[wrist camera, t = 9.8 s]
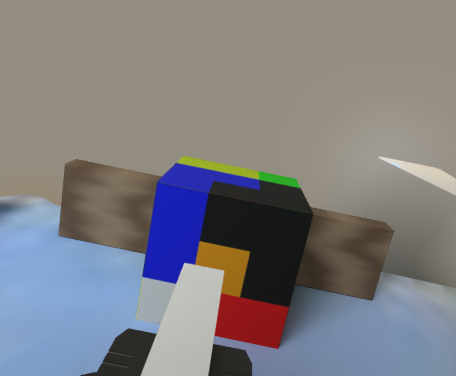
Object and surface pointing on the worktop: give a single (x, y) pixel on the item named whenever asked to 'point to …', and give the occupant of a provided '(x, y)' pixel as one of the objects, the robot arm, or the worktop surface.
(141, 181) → the walnut board
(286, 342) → the worktop surface
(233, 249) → the puzzle toy
